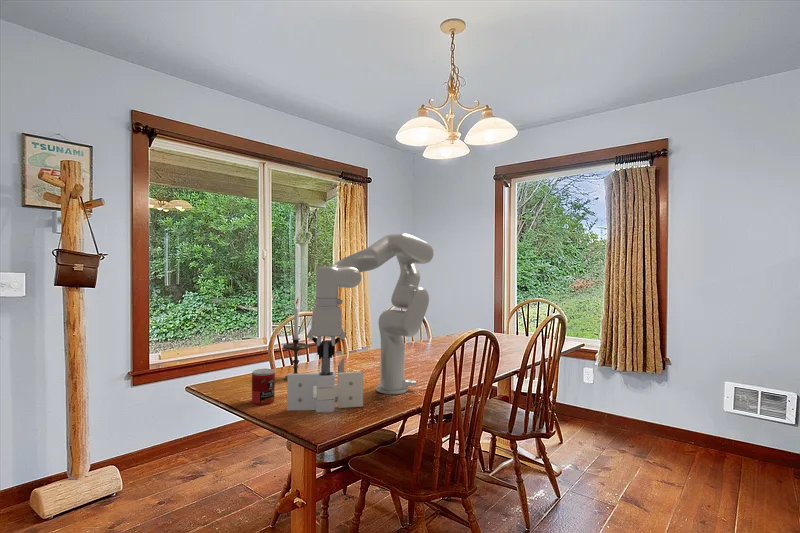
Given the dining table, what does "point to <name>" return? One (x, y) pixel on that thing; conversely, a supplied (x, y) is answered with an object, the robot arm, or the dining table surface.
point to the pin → (325, 358)
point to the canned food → (263, 386)
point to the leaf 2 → (345, 390)
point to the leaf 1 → (309, 392)
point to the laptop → (340, 370)
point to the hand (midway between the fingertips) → (325, 356)
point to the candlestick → (295, 341)
